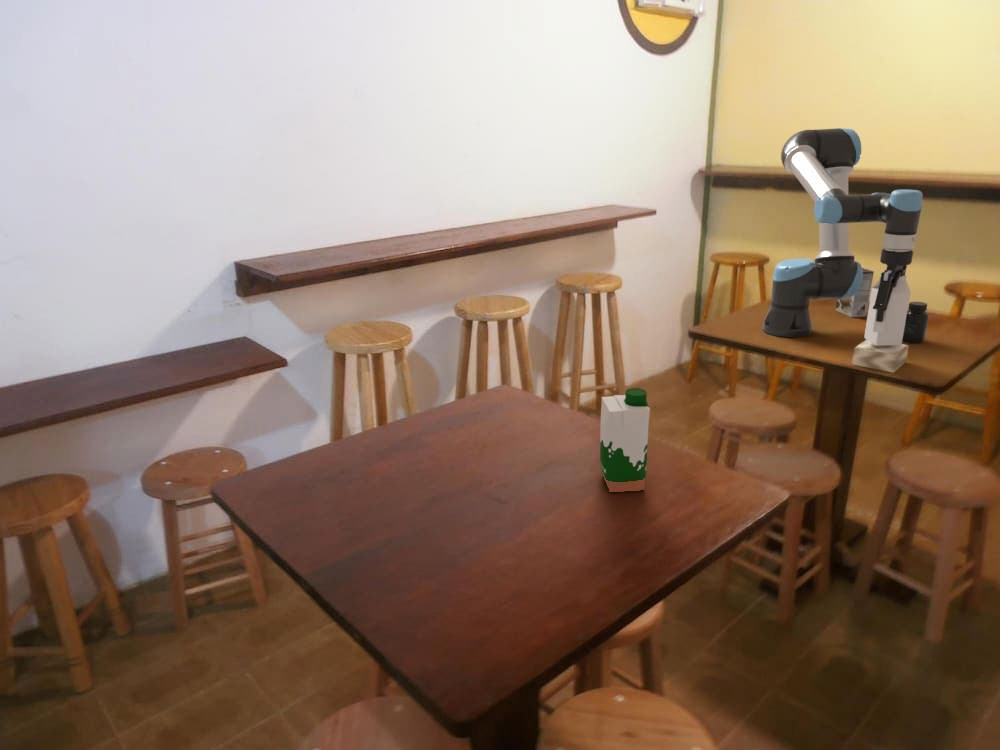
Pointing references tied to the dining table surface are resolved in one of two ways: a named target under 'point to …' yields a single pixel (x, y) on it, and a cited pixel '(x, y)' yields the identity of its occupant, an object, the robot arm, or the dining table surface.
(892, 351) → the pedestal
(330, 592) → the dining table surface
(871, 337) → the milk carton
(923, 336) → the supplement bottle
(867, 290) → the coffee box
